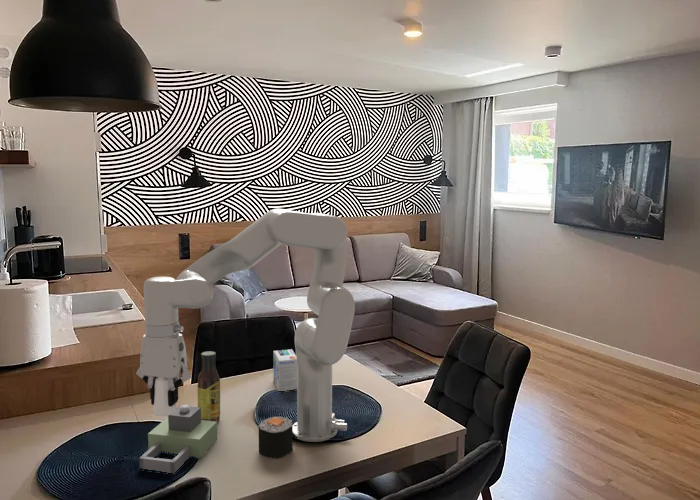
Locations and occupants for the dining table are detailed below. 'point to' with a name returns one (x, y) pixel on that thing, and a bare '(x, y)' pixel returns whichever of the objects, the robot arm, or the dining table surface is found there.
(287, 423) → the sushi
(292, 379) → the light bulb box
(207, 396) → the sauce bottle
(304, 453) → the dining table surface
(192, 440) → the green and grey machine
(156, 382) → the pepper shaker
